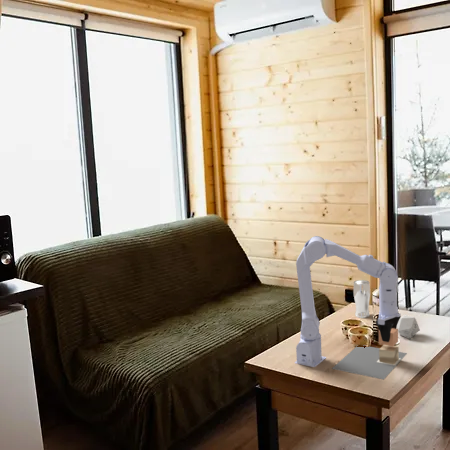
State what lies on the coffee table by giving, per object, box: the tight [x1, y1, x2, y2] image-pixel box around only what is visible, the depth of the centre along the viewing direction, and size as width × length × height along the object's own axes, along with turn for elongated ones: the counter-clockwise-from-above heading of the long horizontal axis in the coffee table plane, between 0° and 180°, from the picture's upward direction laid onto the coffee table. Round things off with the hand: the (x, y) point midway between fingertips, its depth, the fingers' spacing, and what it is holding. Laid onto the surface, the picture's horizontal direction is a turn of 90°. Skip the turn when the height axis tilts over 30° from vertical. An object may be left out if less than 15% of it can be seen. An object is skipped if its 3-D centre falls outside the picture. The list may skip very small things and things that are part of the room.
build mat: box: [331, 346, 408, 381], centre depth 193 cm, size 24×18×1 cm
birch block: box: [379, 344, 400, 364], centre depth 191 cm, size 5×5×4 cm
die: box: [396, 314, 421, 339], centre depth 214 cm, size 8×9×10 cm
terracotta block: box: [378, 328, 399, 346], centre depth 190 cm, size 5×5×4 cm
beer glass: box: [353, 279, 371, 319], centre depth 239 cm, size 7×7×15 cm
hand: (388, 338), depth 191 cm, fingers closed on terracotta block, 5 cm apart
